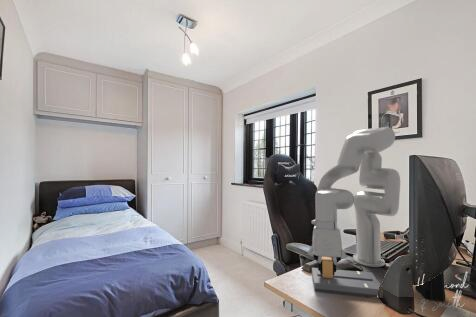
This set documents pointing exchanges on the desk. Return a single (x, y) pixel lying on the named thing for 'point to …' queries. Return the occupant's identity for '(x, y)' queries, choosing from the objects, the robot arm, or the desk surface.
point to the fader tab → (327, 267)
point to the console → (346, 283)
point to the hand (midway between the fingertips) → (327, 272)
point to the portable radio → (433, 288)
